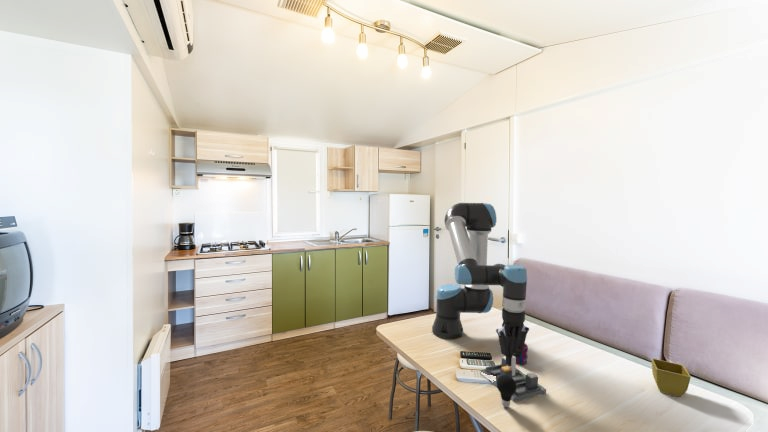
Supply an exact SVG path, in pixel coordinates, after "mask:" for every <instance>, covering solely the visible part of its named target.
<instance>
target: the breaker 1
mask: <svg viewBox="0 0 768 432" xmlns="http://www.w3.org/2000/svg"><path fill="white" fill-rule="evenodd" d="M500 364H501V367H504V366H507V365H506V356H504V355H503V356H502V357H501V363H500Z"/></svg>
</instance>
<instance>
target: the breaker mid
mask: <svg viewBox="0 0 768 432" xmlns="http://www.w3.org/2000/svg"><path fill="white" fill-rule="evenodd" d="M501 375H508V376H510V377H512V370H511V368H509V367H508V366H504V367H501V369H500V376H501Z"/></svg>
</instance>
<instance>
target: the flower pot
mask: <svg viewBox="0 0 768 432" xmlns="http://www.w3.org/2000/svg"><path fill="white" fill-rule="evenodd" d="M651 370H652V371H651V372H652V375H653V379H654V382H655V384H656V386H657V388H658V390H659V392H660V393H661V394H665V395H670V396H674V397H677V398H681V397H683V396H684V395H685V394H686V393H687V391H688V390H689V389H688V388H689V385H690V381H691V374H690V373H689V371H688V370H687V369H686V367H685V366H684V365H683V364H679V363H677V362H676V363H675V362H671V361H666V360H662V359H657V358H651Z"/></svg>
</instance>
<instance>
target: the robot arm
mask: <svg viewBox="0 0 768 432" xmlns="http://www.w3.org/2000/svg"><path fill="white" fill-rule="evenodd" d="M496 223H497V212H496V210H495V208H494V206H493V205H492V204H491V203H485V202H481V203H480V202H458V203H456V204H453V205H452V206H450V208H448V210H447V211H446V213H445V216H444V226H445V229H446V230H447V231H448V232H449V233H448V234H449V236H450V240H451V243H452V247H453V248H452V249H453V251H454V254H455V258H456V262H457V265H456V266H455V268H454V279H455V282H456V284H453V283H452V284H444V285H441V286H439V287H438V288H437V290H436V297H435V298H436V309H435V311H436V312H435V314H436V315H435V318H434V320H433V324H432V328H431V329H432V330H431V333H432V334H433V335H434V336H436V337H439V338H442V339H445V340H447V339H448V340H456V339H460V338H462V337H463V336H464V328H463V324H462V321H461V314H463V313H464V314H465V313H466V314H467V313H469V314H471V313H473V314H486V313H489V312H490V311H491V310H492V308H493V305H494V296H493V295H494V293H493V290H492V289H490V286H501V287H502V289H503V290H502V305H501V306H502V310H501V311H502V312H501V318H502V321H503V322H502V324H501V328H496V330H495V332H496V333H497V336H498V341H499V342H498V344H499V348H500V354H502V355H503V356H506V365H507V366H508V367H509V368H511V370H512V376H514V375H515V369H516V368H517V365H518V364H517V358H519V357H520V356H519V354H522V352H523V348H524V344H526V339H527V335H528V332H529V331H530V328H529V327H527V326H526V325H524V324H525V322H526V312H525V311H526V301H527V300H526V297H527V284H528V283H527V282H528V272H527V267H525V266H522V265H517V264H507V265H505V264H503V263H496V264H493V265H490V264H489V265H488V263H487V262H488V244H489V243H488V238H489V234H490V233H491V232H492V228H495V227H496ZM468 233H469V234H468ZM461 285H463V286H464V288H462V287H461Z"/></svg>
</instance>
